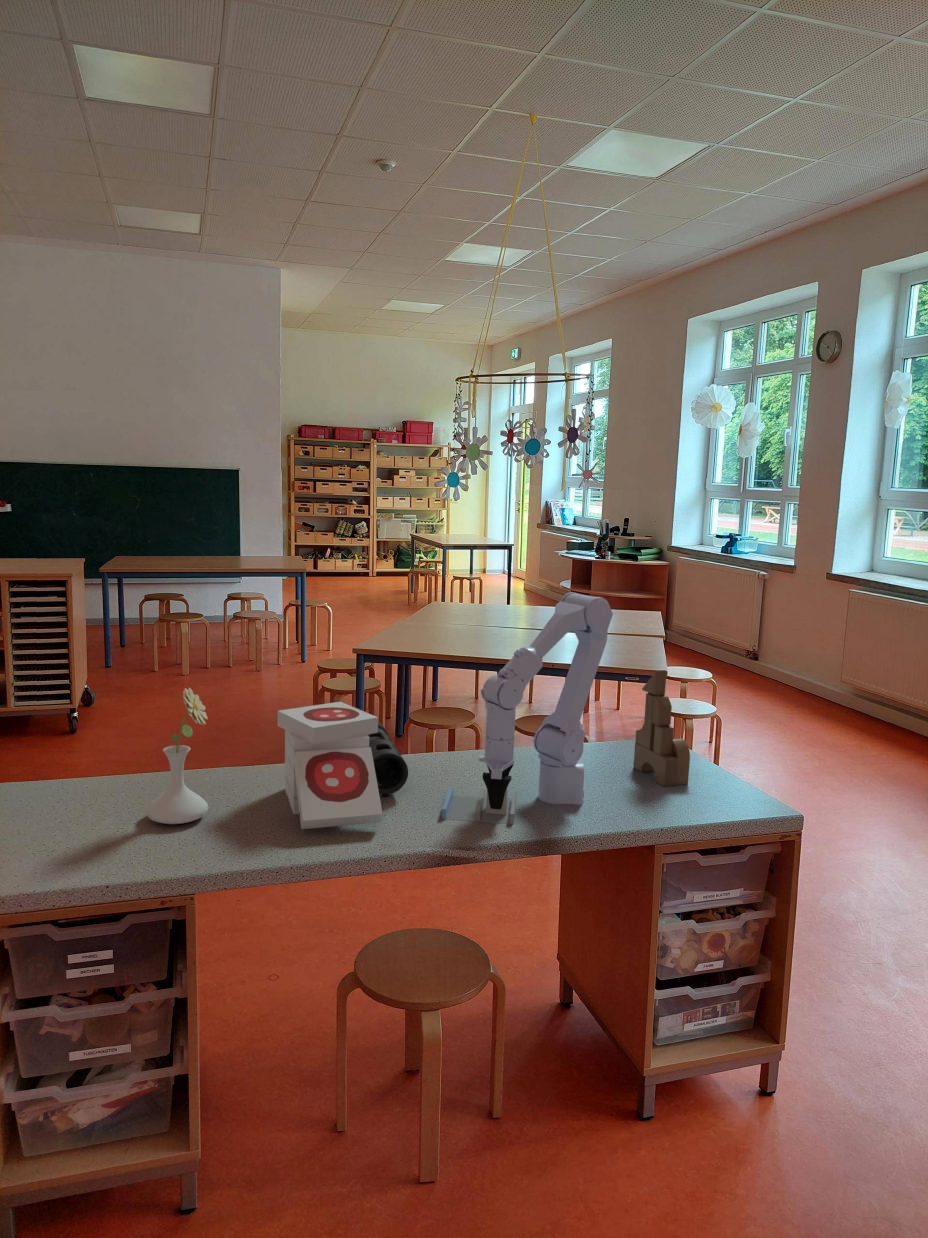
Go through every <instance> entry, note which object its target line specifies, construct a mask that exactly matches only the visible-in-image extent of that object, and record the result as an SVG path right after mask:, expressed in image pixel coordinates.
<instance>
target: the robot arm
mask: <svg viewBox="0 0 928 1238" xmlns="http://www.w3.org/2000/svg"><path fill="white" fill-rule="evenodd" d="M613 615H614V613H613V611H612V608H611V606H610V603H609V602H608V600H606V598H605V597H604V598H603V597H601V596H593V595H592V596H591V595H586V594H581V593H578V592H574V591H571V592H567V593H565V594H564V595H563V597H562V598H561V600H560V601H559V602H557V603H556V605H555V607H554V613H553V615H552V616H551V617H550V618H549V620H548V621H547V623H546V624H545V626H543V627H542V629H541V631H540V632H539V633H538V635H536V637H535V638H534V640H533V642H531V644H530V645H529V646H526V647H520V648H519V649H516V650H515V651H514V653H513V656H512V657H511V659H509V660H508V662H507V663H506V664H505V665H504V666H503V668H500V670H499V671H498V673H497V674H493V675H492V676H490V677H488V678H487V679H486V680H485V682H484V684H483V687H482V688H481V689H480V695H481V697H482V699H483V701H484V703H485V704H484V705H485V709H486V711H485V712H486V714H485V715H486V717H485V737H484V738H485V741H484V747H485V748H484V754H483V755H482V754H480V755H478V761H479V762H483V763H484V764H485V765H486V767H487V769H488V772H483V773H482V780H483V782H484V785H485V787H486V792H487V791H488V796H489V803H490V808H491V809H501V808H502V805H503V801H504V796H505V792H506V789H507V786H508V787H509V784H510V783H511V781H512V777H513V776H512V775H509V774H510V772H511V771H512V769H513V767H514V764H515V756H514V752H515V730H516V729H515V727H516V709H517V706H518V705H519V704H521V703H522V700H523V697H524V692H525V690H526V687H527V686H528V685H529V683H530V682H531V681H532V679H533V678H534V677H535V676H536V675H537V674H538V672H539V671H540V670H542V668H543V665H544V661H543V658H544V657H545V656H546V655H547V654H548V653H549V652H550V651H551V650H552V649H553V648H554V646H556V645H557V644H558V643H559V641H561V640H562V639H563V638H564V637H565V636H566V635H567V634H568V633H570V632H574V634H575V636H576V638H577V640H578V643H577V646H576V649H575V652H574V655H573V657H572V660H571V663H570V666H569V669H568V672H567V675H566V678H565V680H564V684H563V686H562V690H561V692H560V695H559V699H558V701H557V704H556V707H555V710H554V711H553V713H550V714H548V715H547V716H545V717H544V719H543V721H542V724H541V726H539V728H538V729H537V730H536V732H535V734H534V737H533V742H532V743H533V747H534V749H535V751H536V753H538V759H539V760H540V761H539V772H538V773H539V776H538V791H537V792H538V793H537V795H538V799H539V800H540V801H541V802H543V803H547V804H552V805H576V806H577V805H579V806H583V799H584V798H585V789H584V784H585V783H584V779H585V764H584V763H585V762H584V763H583V762H579V761H580V759H581V758H582V756H583V753H584V747H585V745H584V740H585V737H586V734H587V733H586V730H585V729H584V727H583V725H582V723H581V719H582V716H583V712H584V709H585V706H586V703H587V701H588V698H589V696H590V691H591V689H592V686H593V683H594V681H595V678H596V674H597V671H598V669H599V666H600V663H601V659H602V657H603V654H604V652H605V651H604V650H605V648H606V645H607V642H608V630H609V627H610V624H611V621H612V618H613ZM561 729H562V730H561Z"/></svg>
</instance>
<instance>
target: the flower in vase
mask: <svg viewBox="0 0 928 1238" xmlns="http://www.w3.org/2000/svg"><path fill="white" fill-rule="evenodd" d="M193 691H194V690H192V689H191V687H188V689H187V688H184V690H183V692H182V694H183V695H182V698H183V700H182V701H183V704H184V705H185V709H186V710H187V711H186V712H185V714H184V717H183V719H182V721H181V724H180V729H179V732H178V733H179V734H178V735H176V734H174V733H173V734H172V735H171V737H170V738H169V739H168V741H170V742H177V744H176V745H175V744H174V745H169V746H166V747H164V748H163V749H162V753H164V754H165V755H166V757H167V760H168V763H169V768H170V785H169V786H168V788H167V789H166V790H165V791H164V792H163V793H161V794H159V796H157V797H156V798H155V799H154V800H153V801H152V802H151V803H150V804H149V805H148V806H147V809H146V812H145V814H146V816H147V817H148V818H149V820H151V821H153V822H155V823H158V824H159V823H160V824H167V825H178V824H179V825H180V824H185V823H190V822H194V821H197V820H199V819H201V818H203V817H204V816H205V815H206V814H207V813H208V812H209V804H208V803H207V801H206V800H205V799H204V798H203V797H201V796H200V795H199V794H197V793H196V792H194V791H192V790H191V789H189V788H188V787H187V786H186V784H185V781H184V780H185V779H184V767H185V766H184V765H185V761H186V758H187V755H188V754H189V752H190V751H191V747H190V746H188V745H183V744H182V745H181V744H180V741H181V740H182V739H183V738H184V736H185V737H186V738H190V737H192V736H193V728H192V727H191V726H190V725H188V724H184V723H185V722H186V718H187V716H188V715H189V716H190V717H191V720H193V721H194V723H195V724H196V725H200V726H204V725H207V723H206V721H208V719H209V718H208V715H207V712H205V711H206V706H205V705H204V704H203V702H202V700H200V696H199V694H194V692H193ZM205 720H206V721H205ZM181 735H184V736H181Z"/></svg>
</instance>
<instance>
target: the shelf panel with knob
mask: <svg viewBox="0 0 928 1238" xmlns="http://www.w3.org/2000/svg"><path fill="white" fill-rule="evenodd" d="M454 787H455V786H453V785H452V786H451V785H450V786H449V787H448V791H447V794H446V796H445V799H444V802H443V805H442V807H441V820H452V821H463V822H464V821H465V822H482V823H490V824H491V823H492V824H493V823H494V824H507V825H514V824H515V817H516V809H517V801H518V800H517V799H518V790H513V791H512V798H511V799H508V803H507V813H506V815H504V814H490V813H486V803H487V797H486V788H480V793H479V797H478V796H477V797H475V796H463V795H462V796H461V795H454V792H455V789H454Z"/></svg>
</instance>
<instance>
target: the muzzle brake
mask: <svg viewBox="0 0 928 1238" xmlns="http://www.w3.org/2000/svg"><path fill="white" fill-rule="evenodd" d="M367 735H368V737H369V747H371V750H372V756H373V762H374V768H375V773H376V779H377V785H378V790H379V795H381V796H382V798H383V799H384V798H389V797H390V795H392V794H395V793H397V792H398V791H400V790H401V789H402V788H403V787H404V785H405V784H406V782H407V780H408V778H409V768H408V765H407V763H406V761H405V759H404V758H403V756H402V754H401V753H400V751H399V750H398V748H397V747H396V745H395V744H394V743H393V740H392V739H391V738H390V735H389V733H388V731H387V730H386V728H385V726H384V725H383V723H381V722H380V721H378V733H373V734H367Z"/></svg>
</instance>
